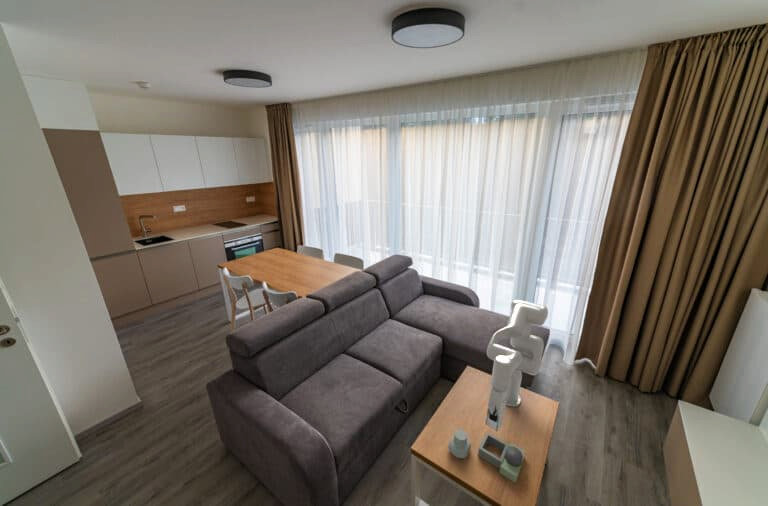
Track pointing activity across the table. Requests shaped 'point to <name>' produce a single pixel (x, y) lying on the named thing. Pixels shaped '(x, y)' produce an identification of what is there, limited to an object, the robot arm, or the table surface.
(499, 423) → the syrup box
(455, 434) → the air freshener
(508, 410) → the table surface
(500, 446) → the grey square sleeve
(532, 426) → the table surface
